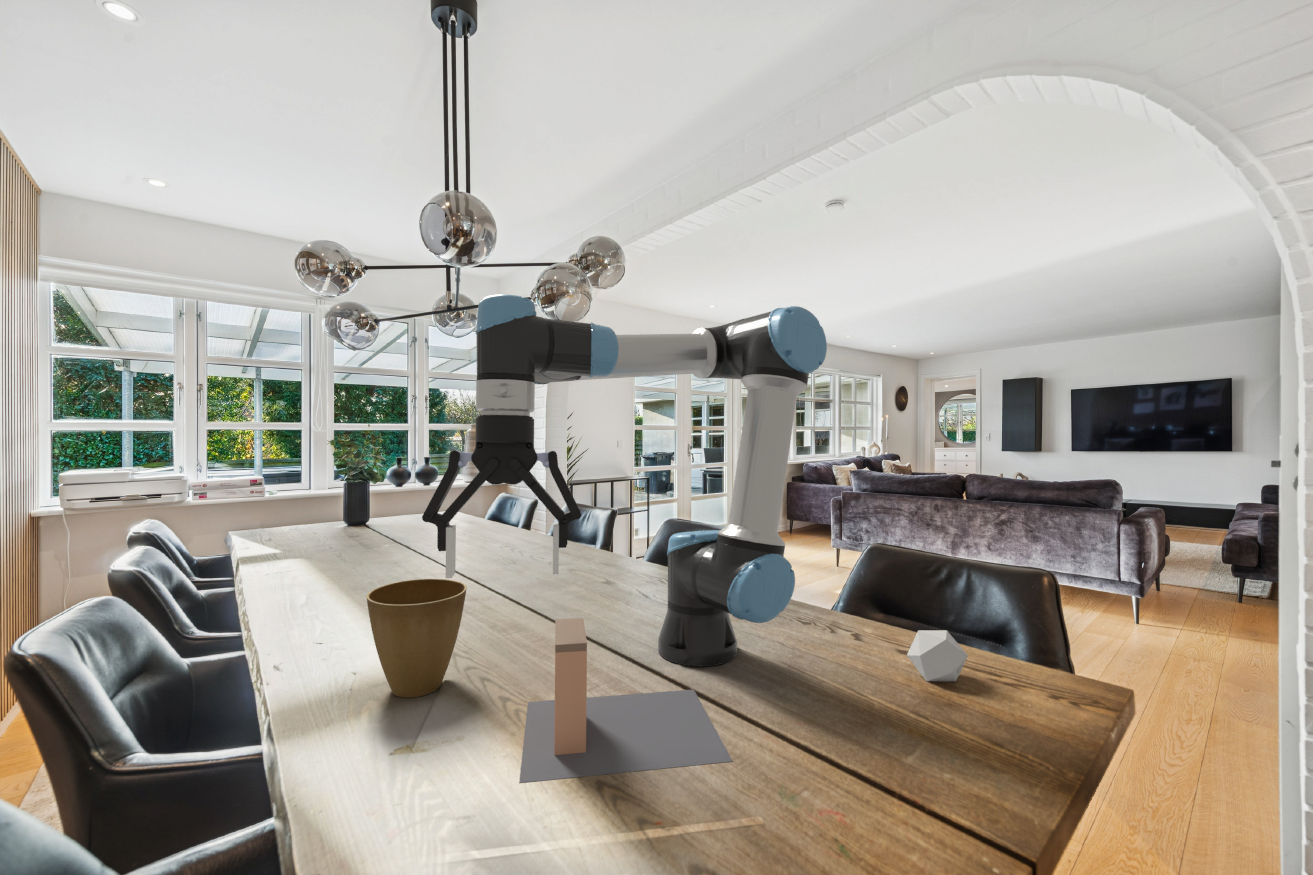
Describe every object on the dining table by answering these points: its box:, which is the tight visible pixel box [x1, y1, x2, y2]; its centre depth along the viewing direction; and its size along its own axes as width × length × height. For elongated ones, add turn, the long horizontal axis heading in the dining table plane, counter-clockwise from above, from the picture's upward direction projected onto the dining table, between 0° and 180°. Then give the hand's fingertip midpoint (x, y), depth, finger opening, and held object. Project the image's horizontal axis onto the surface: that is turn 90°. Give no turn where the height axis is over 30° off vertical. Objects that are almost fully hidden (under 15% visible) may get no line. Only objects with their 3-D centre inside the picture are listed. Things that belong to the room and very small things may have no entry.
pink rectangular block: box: [554, 617, 588, 755], centre depth 75 cm, size 10×4×14 cm, turn 10°
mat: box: [519, 689, 734, 784], centre depth 76 cm, size 20×26×1 cm
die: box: [906, 629, 969, 682], centre depth 95 cm, size 8×9×10 cm
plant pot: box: [366, 578, 467, 699], centre depth 90 cm, size 15×15×16 cm
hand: (503, 573), depth 73 cm, fingers open, 13 cm apart
